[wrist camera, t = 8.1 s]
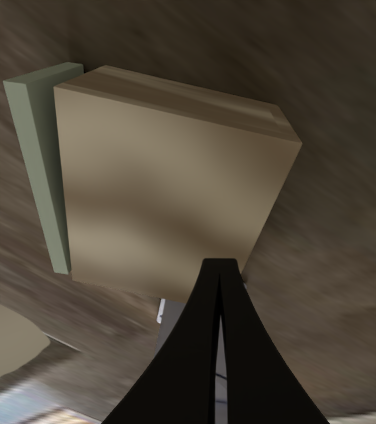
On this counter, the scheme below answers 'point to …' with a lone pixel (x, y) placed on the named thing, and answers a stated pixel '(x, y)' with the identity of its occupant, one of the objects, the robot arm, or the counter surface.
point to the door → (44, 150)
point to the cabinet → (164, 177)
